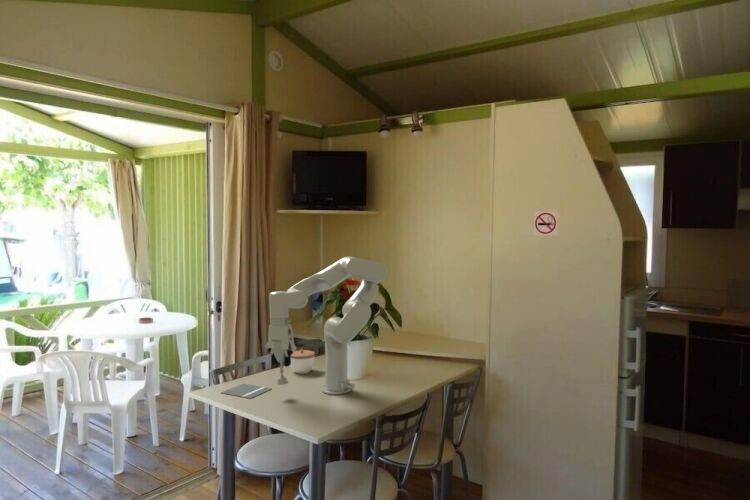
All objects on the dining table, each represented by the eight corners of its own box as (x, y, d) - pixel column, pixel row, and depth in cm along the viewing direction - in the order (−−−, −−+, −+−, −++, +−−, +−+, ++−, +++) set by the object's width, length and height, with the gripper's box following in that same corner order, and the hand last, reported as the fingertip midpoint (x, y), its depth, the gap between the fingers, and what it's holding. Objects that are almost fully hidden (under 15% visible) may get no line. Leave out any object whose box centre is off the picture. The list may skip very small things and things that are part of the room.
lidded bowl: (307, 376, 238) (307, 353, 238) (284, 373, 242) (284, 350, 242) (319, 369, 250) (319, 347, 249) (297, 367, 254) (296, 345, 254)
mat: (271, 389, 218) (271, 388, 218) (250, 398, 206) (250, 397, 206) (242, 384, 225) (242, 383, 225) (220, 393, 213) (220, 392, 213)
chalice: (275, 386, 202) (273, 342, 201) (271, 381, 209) (269, 339, 208) (292, 383, 205) (291, 340, 204) (288, 379, 212) (287, 336, 211)
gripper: (302, 320, 205) (304, 364, 206) (268, 318, 213) (270, 360, 214) (291, 324, 199) (293, 369, 199) (256, 322, 206) (258, 365, 207)
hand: (281, 364), depth 207 cm, fingers closed on chalice, 5 cm apart
